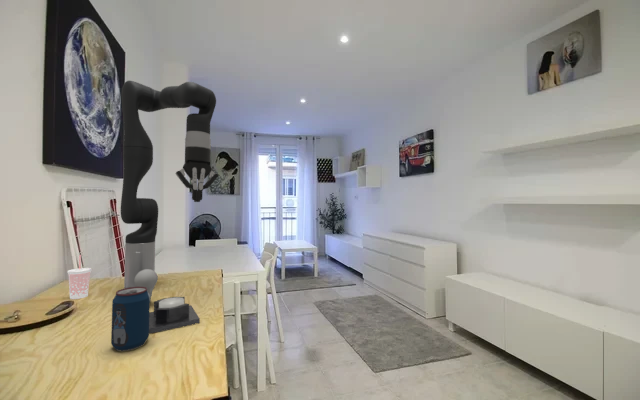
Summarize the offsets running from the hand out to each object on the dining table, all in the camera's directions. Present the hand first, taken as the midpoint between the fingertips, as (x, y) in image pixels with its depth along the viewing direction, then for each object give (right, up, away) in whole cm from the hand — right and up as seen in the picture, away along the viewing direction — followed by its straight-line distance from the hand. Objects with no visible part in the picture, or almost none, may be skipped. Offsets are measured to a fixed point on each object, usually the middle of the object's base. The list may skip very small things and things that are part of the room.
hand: (196, 201), depth 90 cm
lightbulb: (-14, -32, -3) cm, 35 cm away
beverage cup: (-41, -32, +4) cm, 52 cm away
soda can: (-3, -32, -28) cm, 42 cm away
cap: (-1, -31, -14) cm, 34 cm away
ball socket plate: (-1, -32, -14) cm, 35 cm away
